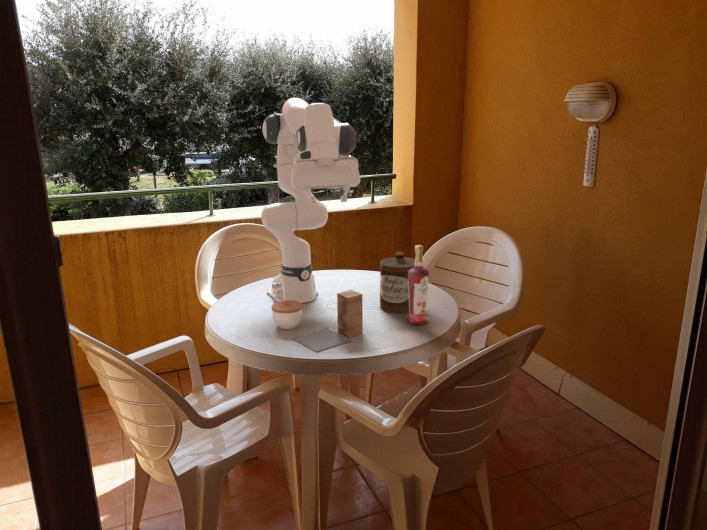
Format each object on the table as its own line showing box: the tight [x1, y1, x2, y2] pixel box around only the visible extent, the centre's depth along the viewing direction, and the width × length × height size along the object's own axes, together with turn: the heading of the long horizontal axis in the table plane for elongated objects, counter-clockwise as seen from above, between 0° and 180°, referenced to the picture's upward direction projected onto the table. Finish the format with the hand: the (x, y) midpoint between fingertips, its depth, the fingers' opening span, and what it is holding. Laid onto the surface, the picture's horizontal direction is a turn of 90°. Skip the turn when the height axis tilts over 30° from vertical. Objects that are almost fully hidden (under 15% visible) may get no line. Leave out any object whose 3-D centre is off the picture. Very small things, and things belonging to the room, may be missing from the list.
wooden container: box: [379, 251, 415, 315], centre depth 210 cm, size 15×15×22 cm
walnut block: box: [336, 289, 364, 339], centre depth 188 cm, size 6×6×14 cm
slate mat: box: [292, 327, 353, 353], centre depth 184 cm, size 14×14×1 cm
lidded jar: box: [271, 300, 303, 330], centre depth 195 cm, size 11×11×9 cm
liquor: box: [407, 244, 430, 326], centre depth 194 cm, size 7×7×28 cm
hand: (328, 202), depth 162 cm, fingers open, 8 cm apart
